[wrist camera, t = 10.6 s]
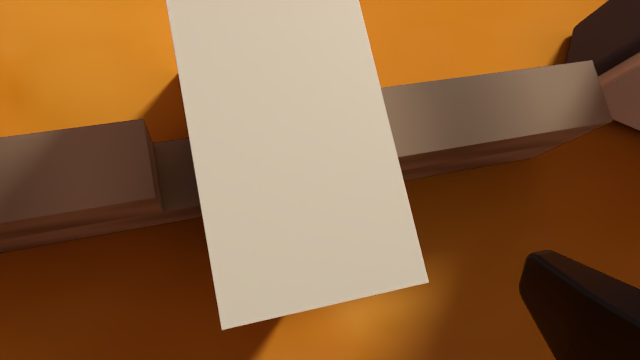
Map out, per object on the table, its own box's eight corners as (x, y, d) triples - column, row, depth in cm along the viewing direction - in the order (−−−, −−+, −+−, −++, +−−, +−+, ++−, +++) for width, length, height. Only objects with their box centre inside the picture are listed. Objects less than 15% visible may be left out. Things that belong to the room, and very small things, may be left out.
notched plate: (297, 294, 16) (428, 282, 6) (218, 312, 16) (221, 330, 6) (251, 63, 18) (297, -247, 8) (178, 72, 17) (123, -254, 7)
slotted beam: (518, 107, 19) (592, 60, 16) (533, 157, 19) (612, 121, 15) (-162, 210, 14) (-301, 176, 10) (-160, 281, 14) (-303, 273, 10)
